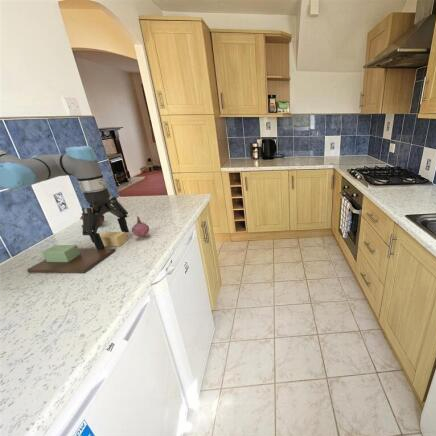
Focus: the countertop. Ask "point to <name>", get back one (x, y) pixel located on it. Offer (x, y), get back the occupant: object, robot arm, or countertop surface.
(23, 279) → the countertop surface
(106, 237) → the sand pad
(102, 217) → the pottery mug
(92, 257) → the board
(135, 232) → the vegetable
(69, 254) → the sage pad
